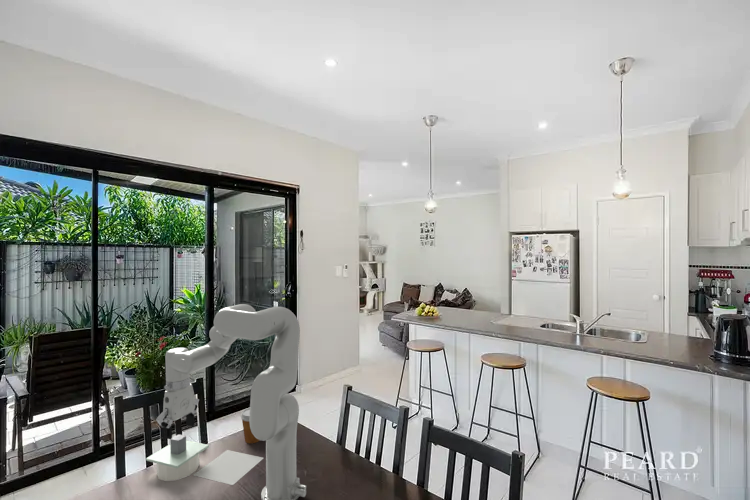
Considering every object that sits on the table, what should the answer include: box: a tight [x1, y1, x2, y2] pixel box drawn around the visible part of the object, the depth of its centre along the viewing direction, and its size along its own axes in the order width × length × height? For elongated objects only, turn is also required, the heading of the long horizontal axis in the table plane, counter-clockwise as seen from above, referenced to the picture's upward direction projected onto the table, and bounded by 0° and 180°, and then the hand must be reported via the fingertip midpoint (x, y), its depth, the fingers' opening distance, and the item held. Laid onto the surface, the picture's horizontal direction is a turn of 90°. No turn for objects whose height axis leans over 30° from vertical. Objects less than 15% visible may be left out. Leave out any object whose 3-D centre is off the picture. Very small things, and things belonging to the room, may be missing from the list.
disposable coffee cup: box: [240, 407, 261, 444], centre depth 153 cm, size 10×10×12 cm
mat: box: [193, 449, 264, 486], centre depth 135 cm, size 17×17×1 cm
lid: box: [145, 433, 210, 468], centre depth 133 cm, size 14×14×6 cm
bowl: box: [156, 453, 200, 482], centre depth 133 cm, size 13×13×6 cm
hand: (179, 431), depth 132 cm, fingers open, 9 cm apart
